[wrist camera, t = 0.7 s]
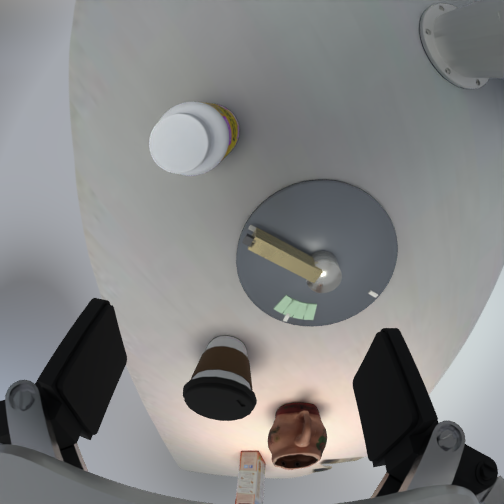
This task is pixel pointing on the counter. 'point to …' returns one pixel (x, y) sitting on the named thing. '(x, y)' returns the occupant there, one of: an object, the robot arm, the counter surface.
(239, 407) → the coffee cup
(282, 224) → the dial
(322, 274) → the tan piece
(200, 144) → the supplement bottle
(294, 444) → the decorative planter
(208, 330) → the counter surface
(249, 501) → the cracker box
